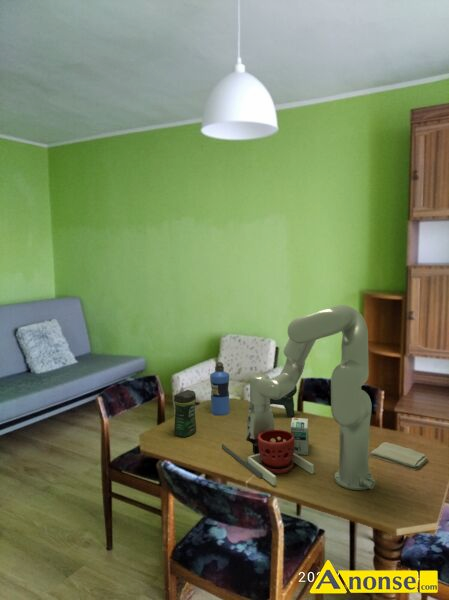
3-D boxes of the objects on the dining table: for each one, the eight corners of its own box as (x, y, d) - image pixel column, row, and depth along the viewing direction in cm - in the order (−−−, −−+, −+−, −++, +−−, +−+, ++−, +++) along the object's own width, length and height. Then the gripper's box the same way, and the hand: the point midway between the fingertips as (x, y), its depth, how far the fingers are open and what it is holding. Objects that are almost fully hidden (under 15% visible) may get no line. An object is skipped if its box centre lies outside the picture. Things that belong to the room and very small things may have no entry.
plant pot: (296, 460, 164) (296, 429, 163) (292, 478, 151) (292, 444, 150) (261, 457, 167) (261, 426, 166) (255, 473, 155) (254, 441, 153)
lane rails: (303, 465, 160) (303, 461, 160) (260, 478, 151) (260, 474, 151) (261, 438, 184) (261, 434, 184) (221, 448, 175) (221, 444, 175)
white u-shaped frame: (313, 473, 154) (313, 456, 153) (273, 485, 146) (273, 468, 145) (276, 448, 174) (276, 434, 173) (239, 458, 165) (238, 443, 165)
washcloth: (417, 473, 155) (417, 464, 154) (368, 457, 167) (368, 449, 167) (429, 461, 163) (429, 453, 163) (382, 447, 176) (382, 439, 175)
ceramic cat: (296, 414, 212) (296, 373, 210) (298, 419, 205) (298, 377, 203) (254, 414, 212) (254, 374, 210) (255, 419, 206) (255, 377, 204)
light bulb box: (308, 455, 168) (308, 428, 167) (290, 454, 170) (290, 427, 168) (308, 443, 179) (308, 418, 178) (291, 442, 180) (291, 417, 179)
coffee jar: (186, 439, 185) (185, 396, 183) (171, 435, 189) (170, 393, 187) (199, 431, 193) (198, 390, 191) (185, 427, 197) (184, 387, 195)
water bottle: (221, 407, 222) (220, 359, 220) (233, 412, 215) (233, 362, 213) (206, 412, 216) (206, 362, 214) (218, 417, 209) (218, 365, 207)
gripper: (246, 413, 159) (247, 462, 161) (283, 405, 167) (283, 452, 169) (236, 407, 166) (236, 454, 167) (272, 400, 173) (272, 445, 175)
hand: (260, 452), depth 168 cm, fingers closed on white u-shaped frame, 3 cm apart
